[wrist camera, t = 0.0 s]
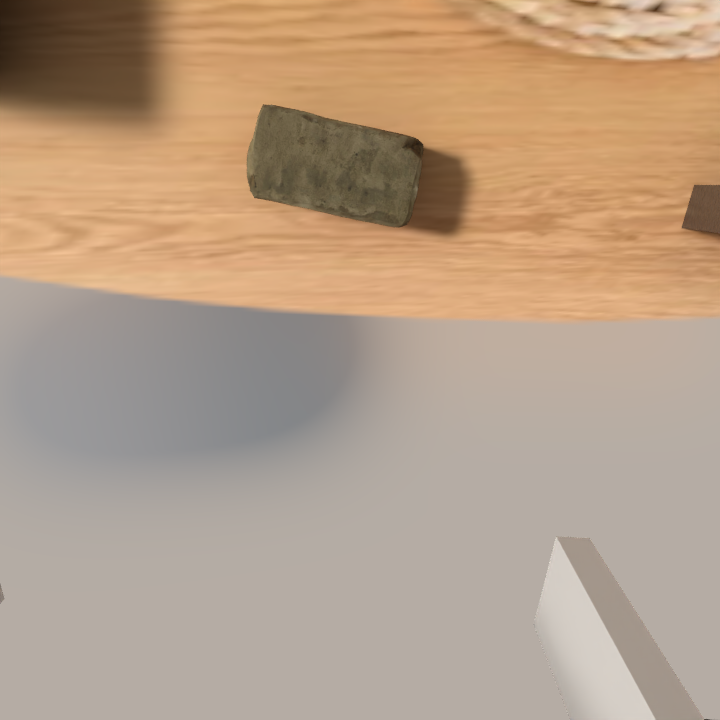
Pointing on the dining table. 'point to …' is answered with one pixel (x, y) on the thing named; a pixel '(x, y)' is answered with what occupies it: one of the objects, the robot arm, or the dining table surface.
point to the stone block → (334, 166)
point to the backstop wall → (704, 209)
